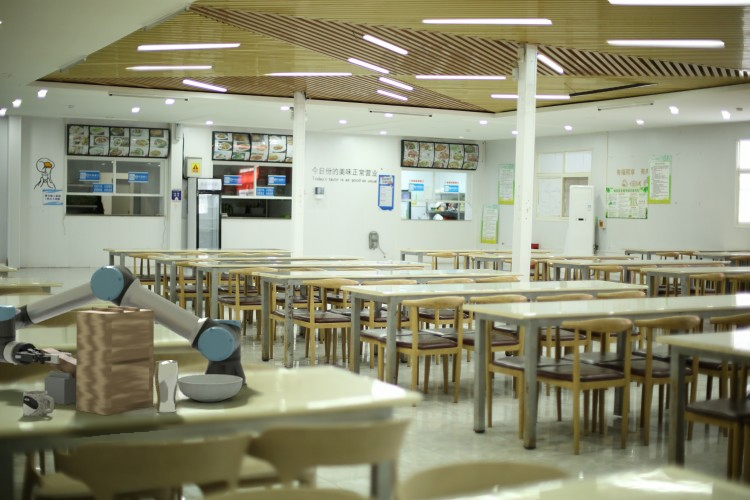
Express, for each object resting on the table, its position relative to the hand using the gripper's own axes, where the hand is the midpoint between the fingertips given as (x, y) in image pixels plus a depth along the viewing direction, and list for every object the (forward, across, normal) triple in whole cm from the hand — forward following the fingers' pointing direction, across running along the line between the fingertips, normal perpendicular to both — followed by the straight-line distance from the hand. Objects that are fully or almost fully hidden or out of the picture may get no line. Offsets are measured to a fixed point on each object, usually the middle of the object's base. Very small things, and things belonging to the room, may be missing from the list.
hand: (64, 358), depth 289 cm
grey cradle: (+3, 0, -13) cm, 14 cm away
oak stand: (+25, 0, -13) cm, 28 cm away
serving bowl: (+38, -28, -14) cm, 49 cm away
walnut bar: (+1, 0, -4) cm, 4 cm away
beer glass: (+41, -6, -14) cm, 44 cm away
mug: (+16, +20, -14) cm, 29 cm away
